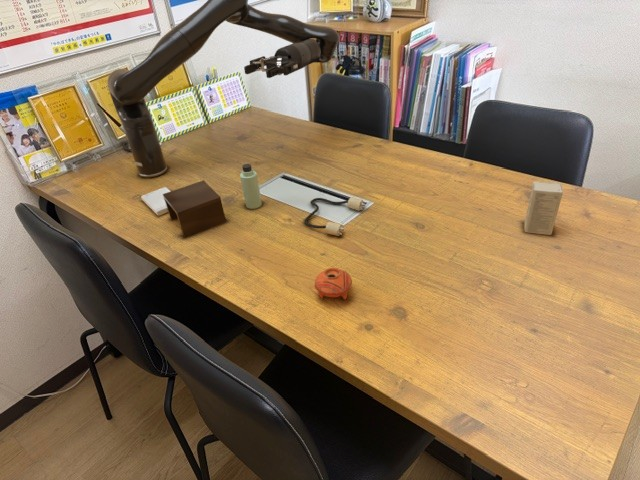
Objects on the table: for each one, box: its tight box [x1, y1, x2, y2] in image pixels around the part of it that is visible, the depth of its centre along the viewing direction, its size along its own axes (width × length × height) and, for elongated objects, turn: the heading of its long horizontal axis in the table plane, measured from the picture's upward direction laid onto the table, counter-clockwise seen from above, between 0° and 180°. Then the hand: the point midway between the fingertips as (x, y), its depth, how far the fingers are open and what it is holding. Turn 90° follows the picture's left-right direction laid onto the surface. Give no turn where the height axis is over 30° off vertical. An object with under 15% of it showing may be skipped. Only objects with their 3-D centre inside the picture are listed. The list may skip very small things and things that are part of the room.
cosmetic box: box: [523, 181, 564, 236], centre depth 107 cm, size 6×4×12 cm
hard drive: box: [140, 186, 172, 217], centre depth 134 cm, size 2×8×12 cm
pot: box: [314, 267, 353, 301], centre depth 95 cm, size 8×8×7 cm
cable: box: [304, 196, 366, 237], centre depth 120 cm, size 16×16×4 cm
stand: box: [163, 180, 227, 238], centre depth 123 cm, size 12×12×8 cm
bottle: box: [239, 163, 263, 210], centre depth 126 cm, size 5×5×13 cm
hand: (256, 72), depth 125 cm, fingers open, 8 cm apart
